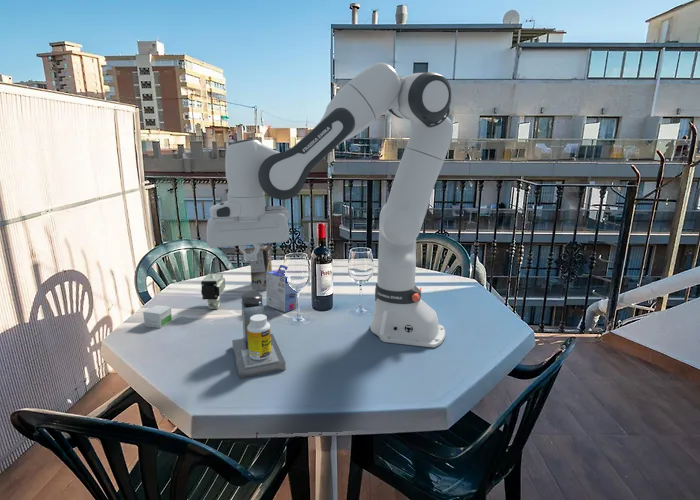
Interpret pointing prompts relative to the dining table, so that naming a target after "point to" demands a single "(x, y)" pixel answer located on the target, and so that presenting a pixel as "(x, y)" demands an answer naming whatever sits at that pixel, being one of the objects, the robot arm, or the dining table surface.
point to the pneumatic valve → (213, 289)
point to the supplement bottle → (259, 337)
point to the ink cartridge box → (279, 291)
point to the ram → (252, 299)
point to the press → (240, 349)
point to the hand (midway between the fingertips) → (250, 261)
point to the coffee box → (261, 267)
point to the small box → (157, 316)
